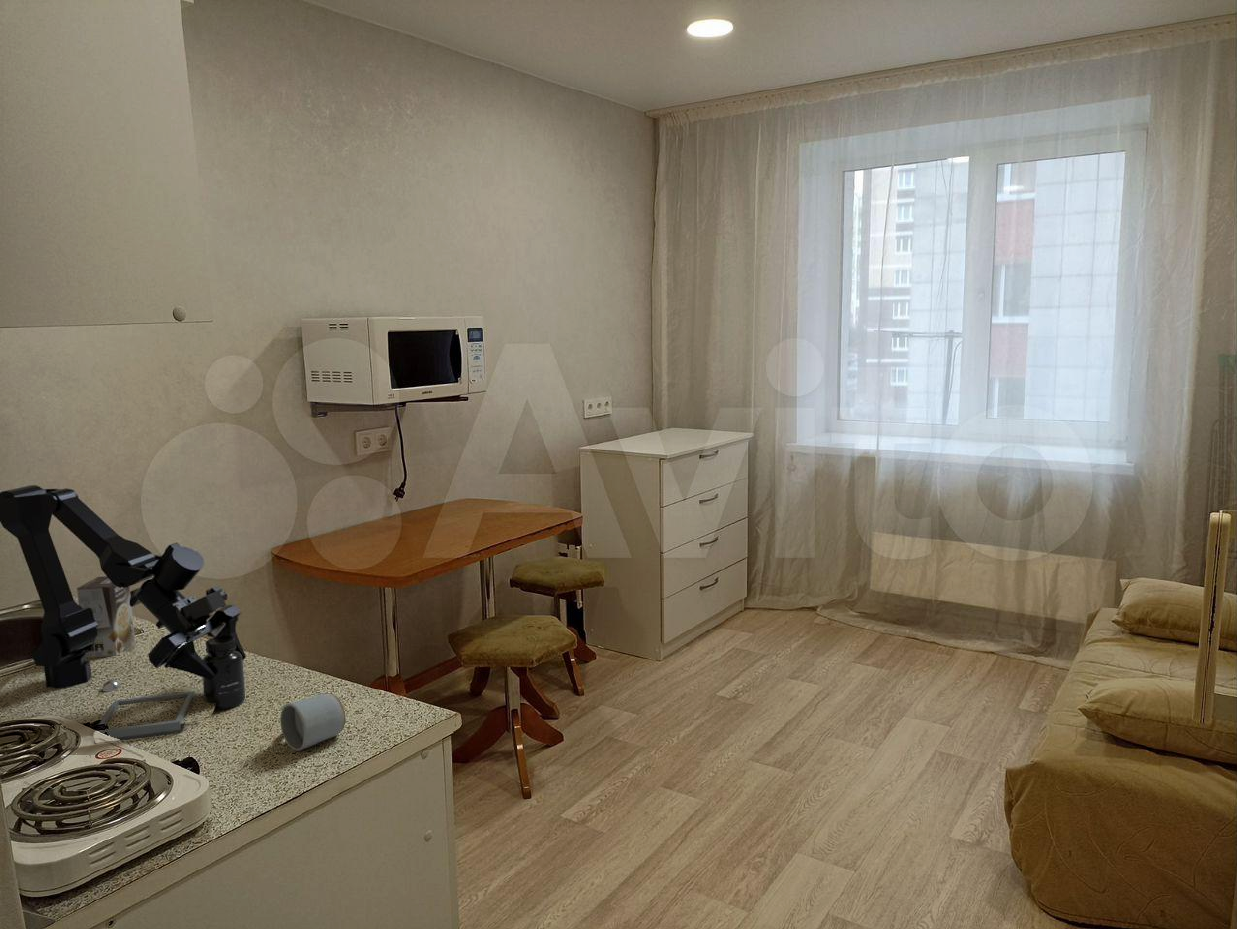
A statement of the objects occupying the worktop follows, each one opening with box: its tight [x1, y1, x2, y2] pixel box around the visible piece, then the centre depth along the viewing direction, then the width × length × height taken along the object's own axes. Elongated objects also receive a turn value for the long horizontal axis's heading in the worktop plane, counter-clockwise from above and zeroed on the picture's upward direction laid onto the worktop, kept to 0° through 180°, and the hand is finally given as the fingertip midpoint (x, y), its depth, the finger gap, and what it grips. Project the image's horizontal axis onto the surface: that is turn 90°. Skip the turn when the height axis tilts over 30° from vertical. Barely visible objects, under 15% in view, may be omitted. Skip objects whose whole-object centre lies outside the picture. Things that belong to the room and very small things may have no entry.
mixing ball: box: [102, 679, 122, 693], centre depth 164 cm, size 3×3×3 cm
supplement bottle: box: [201, 636, 246, 711], centre depth 159 cm, size 7×7×12 cm
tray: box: [99, 690, 196, 741], centre depth 153 cm, size 13×13×2 cm
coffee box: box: [76, 575, 136, 659], centre depth 183 cm, size 9×6×16 cm
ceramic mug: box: [279, 693, 347, 752], centre depth 145 cm, size 11×8×8 cm
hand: (228, 668), depth 159 cm, fingers open, 8 cm apart
